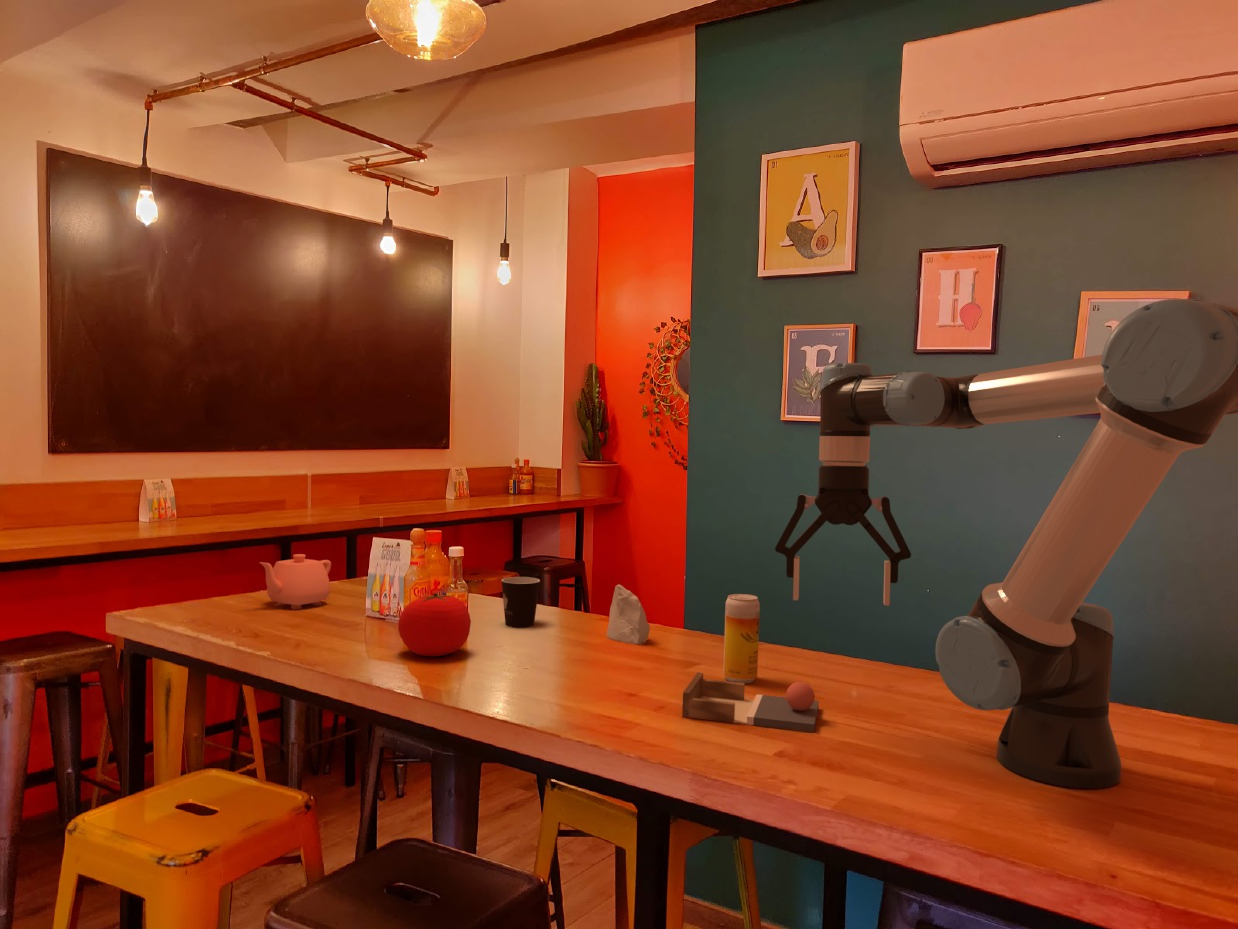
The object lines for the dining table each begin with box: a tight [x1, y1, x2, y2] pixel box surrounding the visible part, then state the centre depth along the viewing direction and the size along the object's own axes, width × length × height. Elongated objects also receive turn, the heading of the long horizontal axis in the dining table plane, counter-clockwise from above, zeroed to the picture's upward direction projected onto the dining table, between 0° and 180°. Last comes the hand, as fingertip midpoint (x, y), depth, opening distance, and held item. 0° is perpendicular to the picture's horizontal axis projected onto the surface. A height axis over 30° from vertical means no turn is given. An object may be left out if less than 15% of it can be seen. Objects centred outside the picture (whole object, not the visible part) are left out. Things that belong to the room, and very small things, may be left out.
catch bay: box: [681, 672, 746, 724], centre depth 140 cm, size 8×12×4 cm, turn 164°
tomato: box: [397, 592, 472, 657], centre depth 169 cm, size 13×14×12 cm
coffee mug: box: [501, 576, 541, 629], centre depth 197 cm, size 12×9×10 cm
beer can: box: [722, 593, 761, 684], centre depth 157 cm, size 6×6×15 cm
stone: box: [606, 584, 651, 646], centre depth 185 cm, size 10×5×12 cm, turn 40°
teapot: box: [258, 553, 332, 610], centre depth 209 cm, size 13×20×12 cm, turn 147°
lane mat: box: [700, 693, 819, 733], centre depth 139 cm, size 20×12×1 cm, turn 74°
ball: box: [785, 681, 816, 711], centre depth 137 cm, size 4×4×4 cm
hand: (840, 601), depth 135 cm, fingers open, 13 cm apart
